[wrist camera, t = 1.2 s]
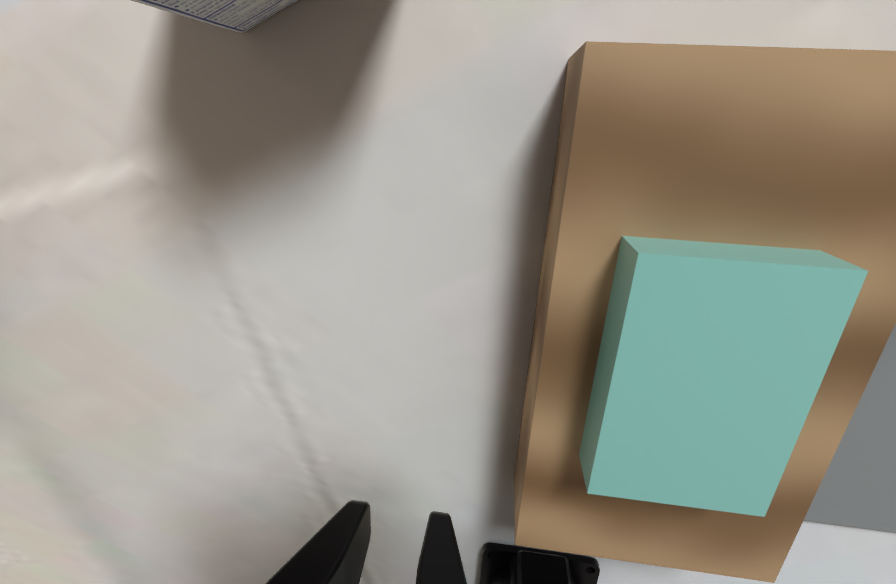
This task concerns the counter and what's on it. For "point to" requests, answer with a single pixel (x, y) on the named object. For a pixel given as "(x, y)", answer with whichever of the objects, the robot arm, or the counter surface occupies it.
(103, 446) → the counter surface
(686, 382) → the teal rectangular block
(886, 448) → the mat
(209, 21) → the medicine box
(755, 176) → the deck
